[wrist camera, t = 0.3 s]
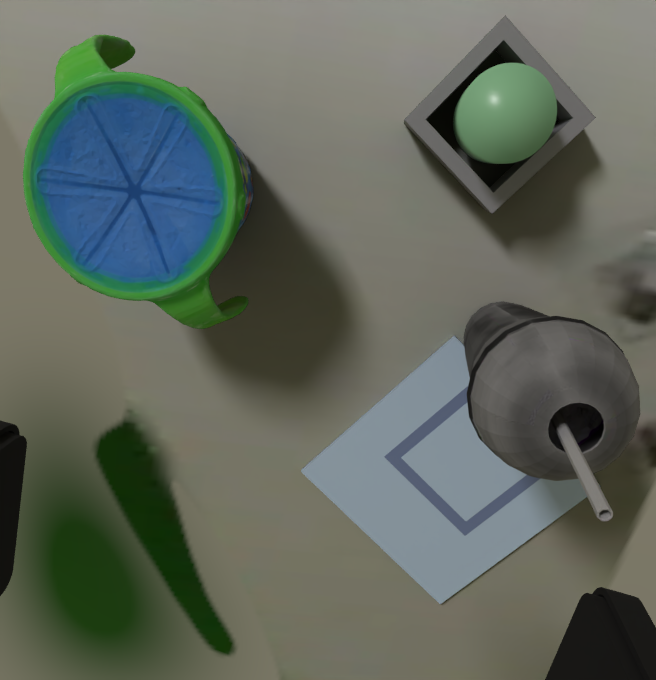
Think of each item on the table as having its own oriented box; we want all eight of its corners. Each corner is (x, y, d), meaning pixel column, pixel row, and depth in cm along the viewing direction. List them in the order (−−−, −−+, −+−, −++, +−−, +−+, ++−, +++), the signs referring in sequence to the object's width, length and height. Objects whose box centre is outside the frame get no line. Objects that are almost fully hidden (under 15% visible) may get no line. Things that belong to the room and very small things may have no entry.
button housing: (496, 27, 35) (505, 15, 32) (580, 121, 35) (595, 117, 33) (404, 123, 36) (404, 119, 34) (485, 210, 37) (492, 213, 34)
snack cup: (73, 84, 38) (-40, 56, 28) (233, 25, 36) (171, -27, 26) (162, 324, 42) (89, 373, 32) (312, 282, 40) (284, 320, 30)
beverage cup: (579, 301, 38) (788, 416, 19) (533, 408, 40) (679, 614, 21) (466, 263, 38) (557, 339, 19) (424, 371, 40) (469, 543, 21)
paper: (454, 335, 40) (454, 336, 39) (599, 484, 41) (600, 487, 41) (301, 469, 43) (300, 471, 43) (440, 601, 45) (440, 604, 45)
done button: (499, 55, 33) (512, 40, 29) (557, 119, 34) (577, 113, 30) (435, 120, 34) (439, 115, 31) (491, 181, 35) (502, 183, 31)
